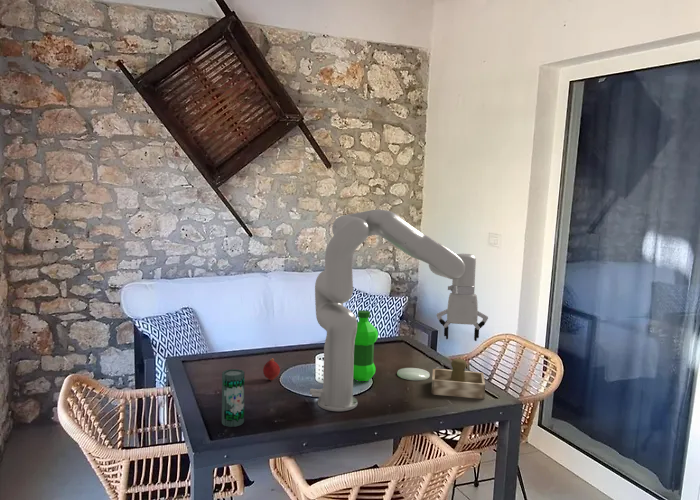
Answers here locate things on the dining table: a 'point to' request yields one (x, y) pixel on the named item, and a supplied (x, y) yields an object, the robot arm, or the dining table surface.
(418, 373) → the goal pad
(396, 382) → the dining table surface
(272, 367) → the onion
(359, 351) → the plastic bottle
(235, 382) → the can
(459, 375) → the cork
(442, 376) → the box
